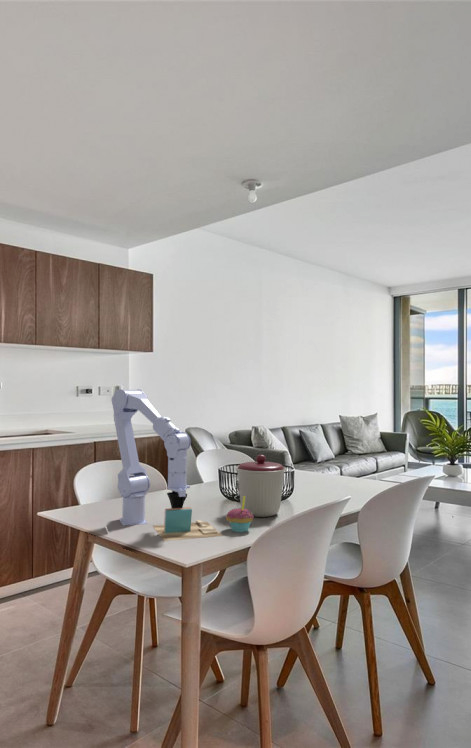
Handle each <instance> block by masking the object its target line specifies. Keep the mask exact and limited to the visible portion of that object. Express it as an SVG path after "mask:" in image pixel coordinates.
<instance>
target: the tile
mask: <svg viewBox="0 0 471 748" xmlns="http://www.w3.org/2000/svg"><path fill="white" fill-rule="evenodd" d="M192 513H193V508H192V507H189V506H186V507H183V508H164V520H163V525H164V532H165V533H171V532H184V531H191V523H192V515H193V514H192Z"/></svg>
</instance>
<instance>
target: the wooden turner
mask: <svg viewBox="0 0 471 748" xmlns="http://www.w3.org/2000/svg"><path fill="white" fill-rule="evenodd" d="M195 522H196V523H197V524H198V525H199V526H200V527H201V528H199V530H200V531H201V532H202V533H203V534H216V533H218V532H219V531H218V530H217V529H216V528H215V527H214V526H212V527H207V525H205V524H204V523H203V522H204V521H202V520H201V519H196V520H195ZM213 527H214V528H215V529H216V530H217V531H218V532H217V531H216V530H215V529H214V528H213Z"/></svg>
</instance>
